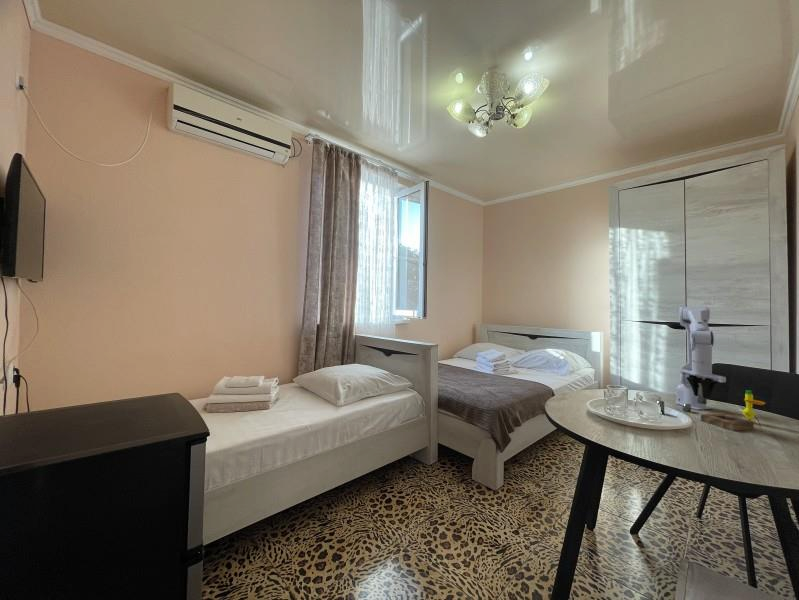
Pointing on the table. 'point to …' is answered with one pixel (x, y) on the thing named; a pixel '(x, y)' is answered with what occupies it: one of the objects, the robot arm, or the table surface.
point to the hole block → (727, 421)
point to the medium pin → (661, 405)
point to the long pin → (700, 394)
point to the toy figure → (750, 406)
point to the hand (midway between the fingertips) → (701, 396)
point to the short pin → (686, 407)
